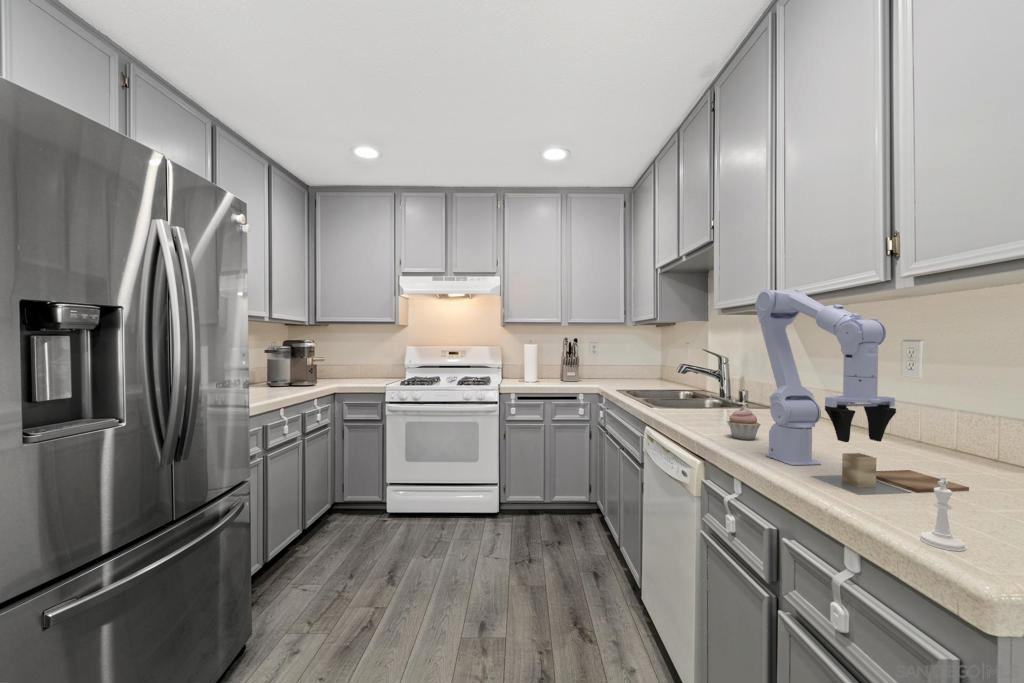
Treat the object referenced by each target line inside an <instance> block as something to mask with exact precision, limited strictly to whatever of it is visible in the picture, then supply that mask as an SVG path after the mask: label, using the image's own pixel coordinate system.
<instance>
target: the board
mask: <svg viewBox="0 0 1024 683" xmlns="http://www.w3.org/2000/svg"><path fill="white" fill-rule="evenodd" d="M876 481H879V482H882V483H885V484H888V485H891V486H894V487H897V488H900V489H903V490H906V491H909V492H912V493H916V494H922V493H925V494H926V493H935V492H934V488H937V487H940V485H939V484H938V481H940V477H939V478H938V477H935V476H933V475H928V474H926V473H921V472H918V471H914V470H911V469H904V470H903V469H900V470H898V469H897V470H876ZM947 481H948V484H946V488H947V489H949V490H951V491H952V493H953V492H969V491H970V487H969V486H966V485H963V484H959V483H956V482H952V481H949V480H947Z"/></svg>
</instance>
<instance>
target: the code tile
mask: <svg viewBox="0 0 1024 683" xmlns="http://www.w3.org/2000/svg"><path fill="white" fill-rule="evenodd" d="M810 477H811V478H814V479H816V480H819V481H822V482H823V483H827V484H829V485H831V486H834V487H837V488H839V489H841V490H845V491H846V492H849V493H852V494H855V495H857V496H869V495H872V496H873V495H895V494H896V495H897V494H912V491H909V490H907V489H904V488H901V487H898V486H895V485H892V484H889V483H886V482H883V481H880V480H876V487H856V486H853V485H851V484H848V483H845V482H843V481H842V474H841V475H840V474H838V475H837V474H836V475H810Z"/></svg>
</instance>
